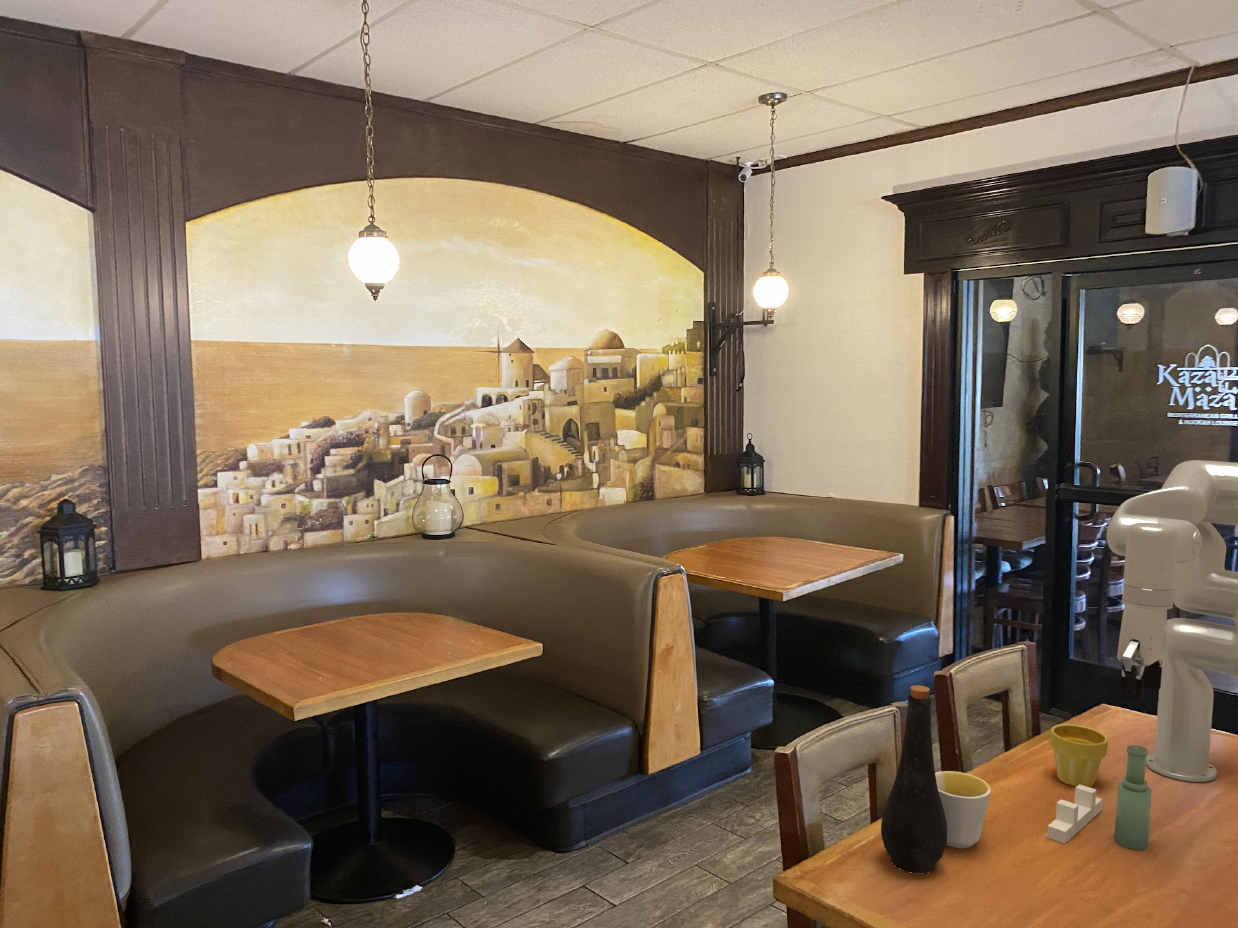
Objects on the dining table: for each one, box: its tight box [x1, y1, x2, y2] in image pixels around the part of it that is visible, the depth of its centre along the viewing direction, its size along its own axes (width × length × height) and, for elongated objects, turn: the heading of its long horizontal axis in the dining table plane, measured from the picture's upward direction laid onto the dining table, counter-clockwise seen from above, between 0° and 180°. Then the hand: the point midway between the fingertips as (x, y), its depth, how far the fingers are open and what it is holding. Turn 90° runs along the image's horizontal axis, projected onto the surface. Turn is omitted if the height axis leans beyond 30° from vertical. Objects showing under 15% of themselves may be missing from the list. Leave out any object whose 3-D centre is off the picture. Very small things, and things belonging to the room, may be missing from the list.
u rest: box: [1046, 784, 1103, 845], centre depth 170 cm, size 18×3×5 cm, turn 134°
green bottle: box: [1113, 744, 1153, 851], centre depth 163 cm, size 5×5×17 cm
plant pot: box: [1049, 723, 1109, 788], centre depth 188 cm, size 10×10×10 cm
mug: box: [935, 770, 992, 849], centre depth 164 cm, size 14×10×10 cm
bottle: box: [880, 684, 947, 875], centre depth 155 cm, size 11×11×30 cm
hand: (1140, 693), depth 161 cm, fingers open, 9 cm apart
